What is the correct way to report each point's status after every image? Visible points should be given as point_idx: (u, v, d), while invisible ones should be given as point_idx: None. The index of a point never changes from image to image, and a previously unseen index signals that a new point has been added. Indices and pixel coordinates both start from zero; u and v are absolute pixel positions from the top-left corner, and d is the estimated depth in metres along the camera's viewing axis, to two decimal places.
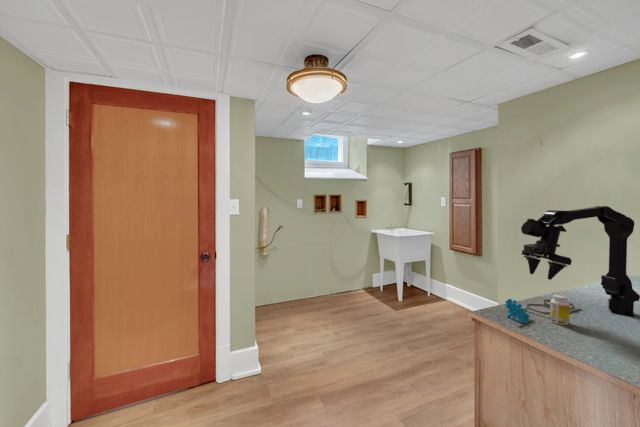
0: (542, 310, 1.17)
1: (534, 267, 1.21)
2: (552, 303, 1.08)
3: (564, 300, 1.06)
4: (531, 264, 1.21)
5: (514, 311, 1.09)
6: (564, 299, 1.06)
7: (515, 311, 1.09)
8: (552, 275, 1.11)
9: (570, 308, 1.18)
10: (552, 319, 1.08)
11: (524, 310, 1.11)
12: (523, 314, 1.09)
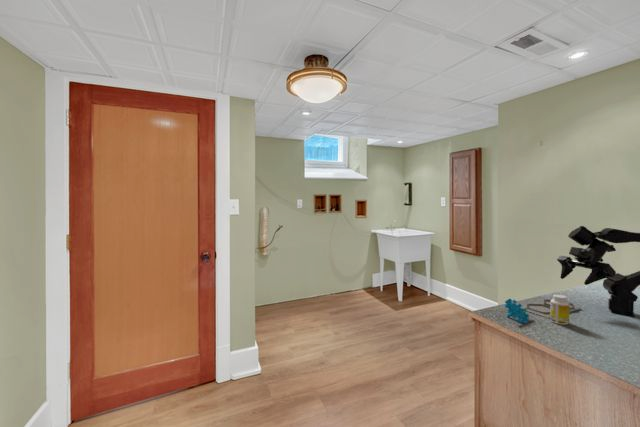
0: (542, 310, 1.17)
1: (566, 273, 1.21)
2: (552, 303, 1.08)
3: (564, 300, 1.06)
4: (565, 269, 1.21)
5: (514, 311, 1.09)
6: (564, 299, 1.06)
7: (515, 311, 1.09)
8: (590, 281, 1.11)
9: (570, 308, 1.18)
10: (552, 319, 1.08)
11: (524, 310, 1.11)
12: (523, 314, 1.10)
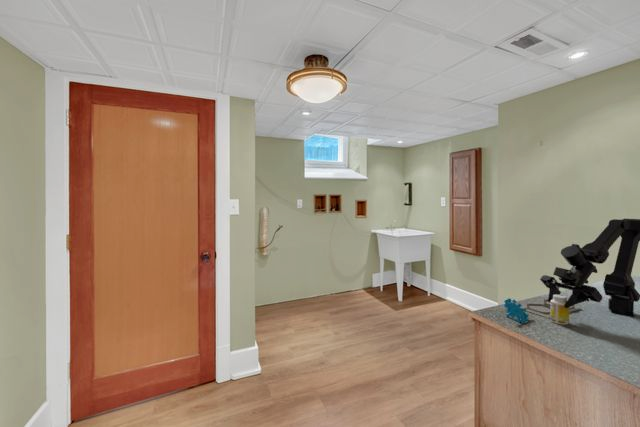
0: (542, 310, 1.17)
1: None
2: (552, 303, 1.08)
3: (564, 300, 1.06)
4: (553, 292, 1.11)
5: (512, 310, 1.09)
6: (564, 299, 1.06)
7: (514, 310, 1.10)
8: (570, 304, 1.04)
9: (570, 308, 1.18)
10: (552, 319, 1.08)
11: (523, 310, 1.12)
12: (522, 314, 1.10)
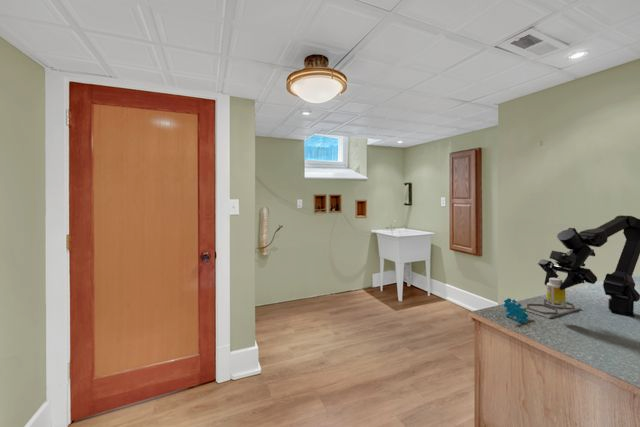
0: (542, 310, 1.17)
1: None
2: (547, 286, 1.10)
3: (559, 282, 1.07)
4: (549, 275, 1.13)
5: (512, 310, 1.10)
6: (559, 281, 1.07)
7: (513, 310, 1.10)
8: (565, 286, 1.06)
9: (570, 308, 1.18)
10: (548, 301, 1.10)
11: (523, 310, 1.12)
12: (522, 314, 1.10)
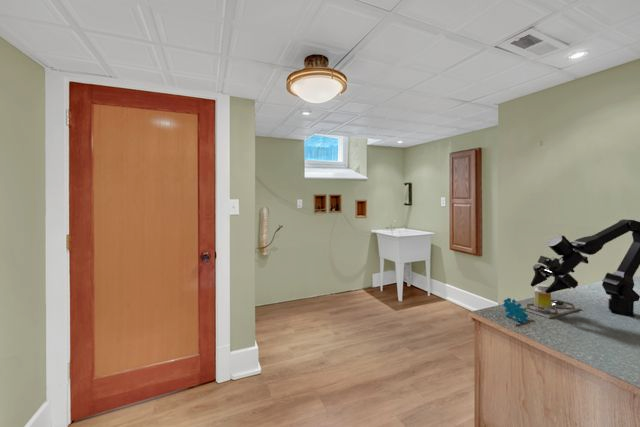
0: None
1: (537, 281, 1.23)
2: (534, 291, 1.19)
3: (544, 288, 1.16)
4: (536, 277, 1.23)
5: (511, 310, 1.10)
6: (544, 288, 1.16)
7: (512, 310, 1.10)
8: (551, 290, 1.13)
9: (570, 308, 1.18)
10: (534, 305, 1.19)
11: (523, 310, 1.12)
12: (521, 313, 1.10)
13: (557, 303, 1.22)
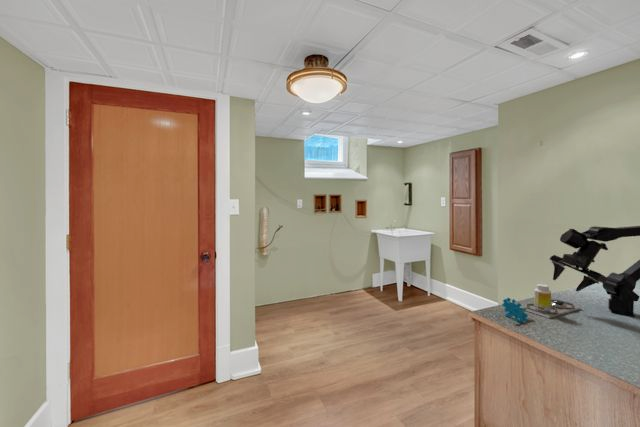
0: None
1: (558, 274, 1.24)
2: (534, 291, 1.19)
3: (544, 289, 1.16)
4: (557, 271, 1.23)
5: (511, 310, 1.10)
6: (544, 288, 1.16)
7: (512, 310, 1.10)
8: (581, 288, 1.15)
9: (570, 308, 1.18)
10: (534, 305, 1.19)
11: (523, 309, 1.12)
12: (521, 313, 1.10)
13: (557, 303, 1.22)
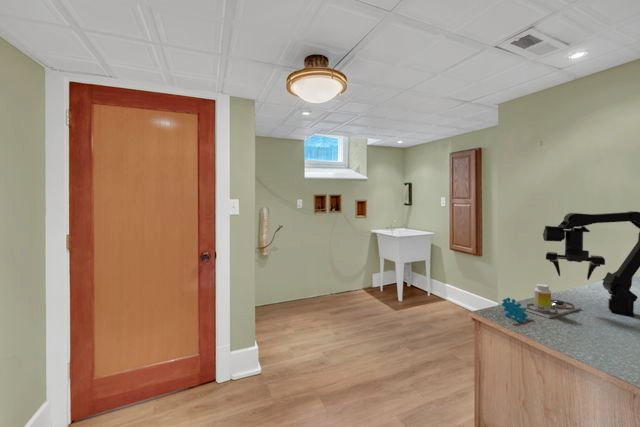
0: None
1: (559, 268, 1.25)
2: (534, 291, 1.19)
3: (544, 288, 1.16)
4: None
5: (510, 309, 1.10)
6: (544, 288, 1.16)
7: (511, 310, 1.11)
8: None
9: (570, 308, 1.18)
10: (534, 305, 1.19)
11: (522, 309, 1.12)
12: (520, 313, 1.10)
13: (557, 303, 1.22)
